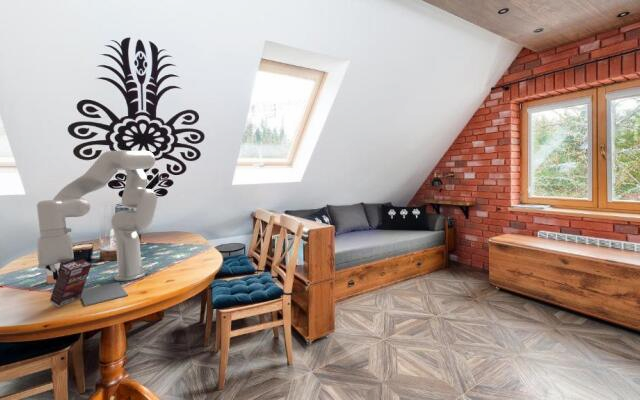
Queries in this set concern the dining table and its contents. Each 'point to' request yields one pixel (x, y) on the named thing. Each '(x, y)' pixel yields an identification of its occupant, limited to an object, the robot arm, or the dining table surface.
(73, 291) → the supplement box
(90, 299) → the mat
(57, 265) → the pepper shaker
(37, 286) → the dining table surface
